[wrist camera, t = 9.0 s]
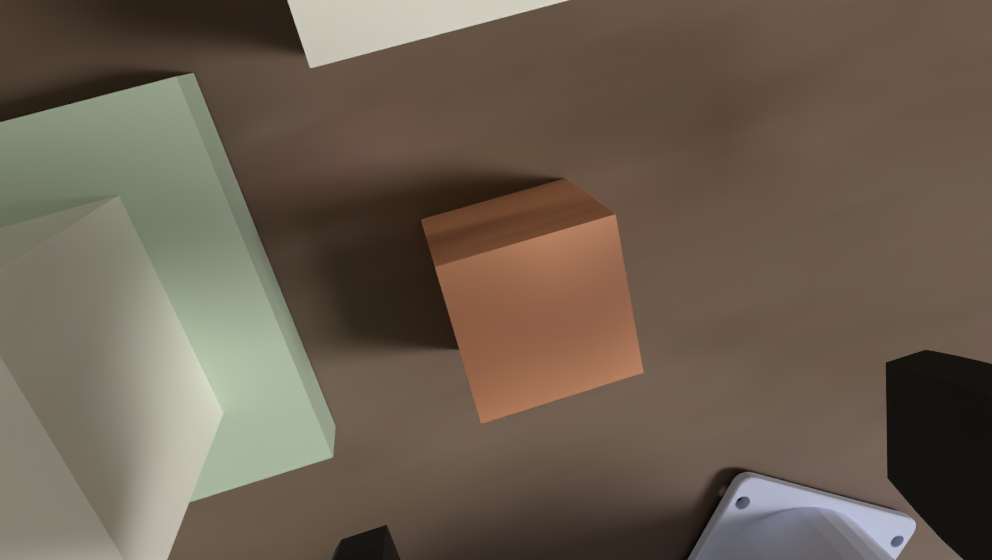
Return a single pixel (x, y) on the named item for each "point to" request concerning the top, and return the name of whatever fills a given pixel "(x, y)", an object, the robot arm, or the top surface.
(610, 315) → the orange brown block
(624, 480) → the top surface
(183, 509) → the cream matte cube
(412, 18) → the cover
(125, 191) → the coaster
